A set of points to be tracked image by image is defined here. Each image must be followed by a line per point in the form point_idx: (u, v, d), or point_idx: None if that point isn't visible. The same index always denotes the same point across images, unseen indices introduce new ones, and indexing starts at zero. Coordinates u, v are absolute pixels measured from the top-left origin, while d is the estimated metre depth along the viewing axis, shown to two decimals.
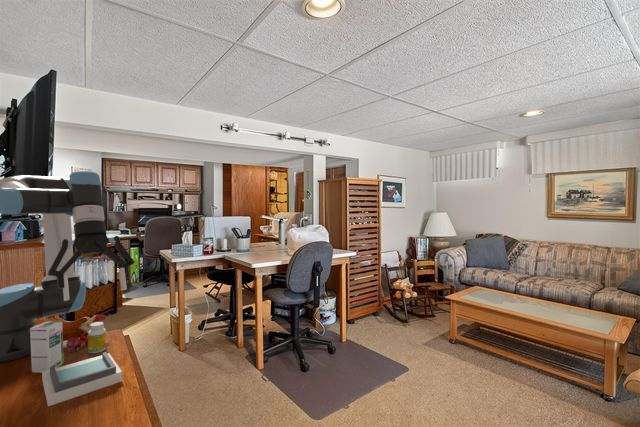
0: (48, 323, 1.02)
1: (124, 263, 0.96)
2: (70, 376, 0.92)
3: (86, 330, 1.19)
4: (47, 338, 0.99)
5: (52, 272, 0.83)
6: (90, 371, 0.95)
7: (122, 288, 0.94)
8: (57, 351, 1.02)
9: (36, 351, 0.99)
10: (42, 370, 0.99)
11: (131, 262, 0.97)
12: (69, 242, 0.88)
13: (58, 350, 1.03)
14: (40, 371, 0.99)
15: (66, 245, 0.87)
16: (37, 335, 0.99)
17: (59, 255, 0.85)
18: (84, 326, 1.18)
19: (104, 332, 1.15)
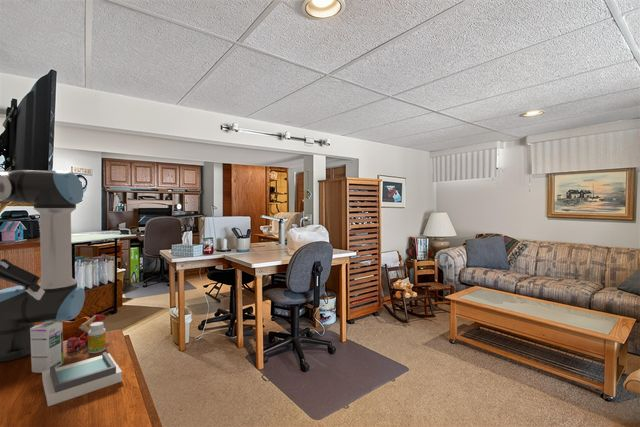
0: (48, 323, 1.02)
1: (23, 285, 0.84)
2: (70, 376, 0.92)
3: (86, 330, 1.19)
4: (47, 338, 0.99)
5: None
6: (90, 371, 0.95)
7: None
8: (57, 351, 1.02)
9: (36, 351, 0.99)
10: (42, 370, 0.99)
11: (31, 285, 0.85)
12: None
13: (58, 350, 1.03)
14: (40, 371, 0.99)
15: None
16: (37, 335, 0.99)
17: None
18: (84, 326, 1.18)
19: (104, 332, 1.15)
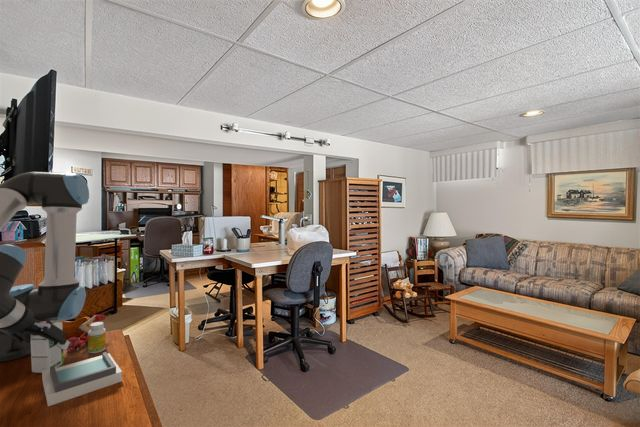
0: None
1: (54, 341, 0.99)
2: (70, 376, 0.92)
3: (86, 330, 1.19)
4: None
5: (20, 341, 0.99)
6: (90, 371, 0.95)
7: None
8: (57, 350, 1.02)
9: (36, 351, 0.99)
10: (42, 370, 0.99)
11: (59, 341, 0.99)
12: None
13: (58, 350, 1.03)
14: (40, 371, 0.99)
15: None
16: (37, 335, 0.99)
17: (10, 335, 0.95)
18: (84, 326, 1.18)
19: (104, 332, 1.15)
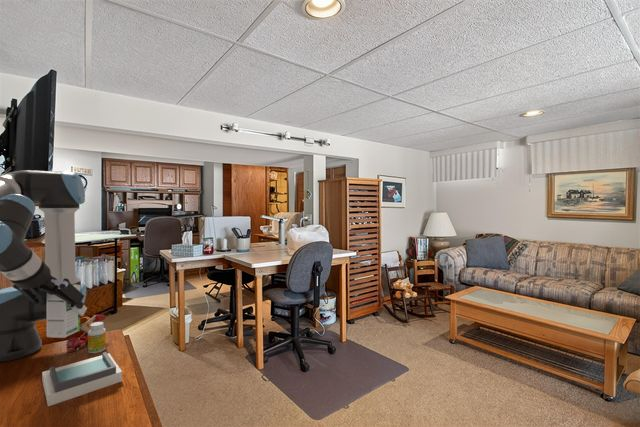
0: None
1: (71, 303, 0.92)
2: (70, 376, 0.92)
3: (86, 330, 1.19)
4: None
5: (35, 303, 0.92)
6: (90, 371, 0.95)
7: None
8: (74, 315, 0.95)
9: (52, 313, 0.92)
10: (58, 335, 0.92)
11: (76, 303, 0.92)
12: None
13: (75, 315, 0.96)
14: (55, 336, 0.92)
15: (20, 289, 0.86)
16: (54, 297, 0.92)
17: (25, 295, 0.89)
18: (84, 326, 1.18)
19: (104, 332, 1.15)
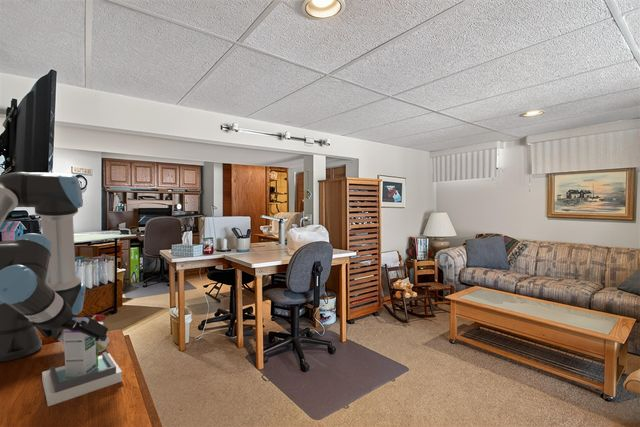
0: None
1: (95, 337, 0.91)
2: None
3: None
4: (83, 340, 0.91)
5: (47, 337, 0.90)
6: None
7: None
8: (92, 353, 0.94)
9: (70, 354, 0.91)
10: (77, 374, 0.91)
11: (101, 336, 0.91)
12: None
13: (93, 352, 0.95)
14: (75, 376, 0.91)
15: (38, 326, 0.85)
16: (72, 337, 0.91)
17: (40, 331, 0.87)
18: None
19: None
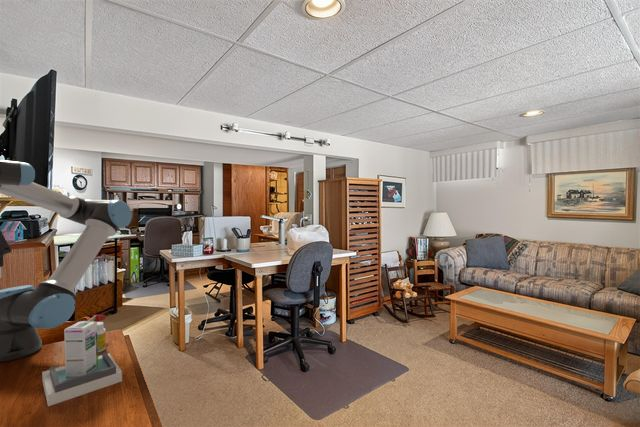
0: (82, 323, 0.94)
1: None
2: None
3: None
4: (84, 340, 0.91)
5: None
6: None
7: None
8: (92, 353, 0.94)
9: (70, 353, 0.91)
10: (77, 374, 0.91)
11: (0, 252, 0.89)
12: None
13: (93, 352, 0.95)
14: (75, 376, 0.91)
15: None
16: (72, 337, 0.91)
17: None
18: None
19: (104, 332, 1.15)
